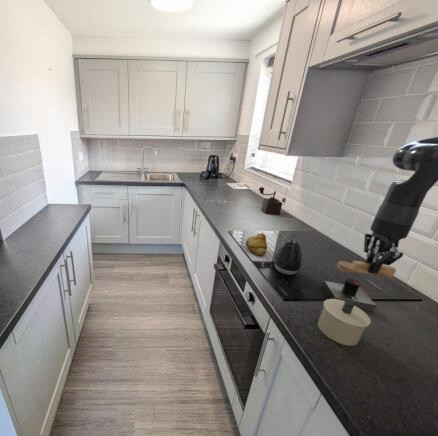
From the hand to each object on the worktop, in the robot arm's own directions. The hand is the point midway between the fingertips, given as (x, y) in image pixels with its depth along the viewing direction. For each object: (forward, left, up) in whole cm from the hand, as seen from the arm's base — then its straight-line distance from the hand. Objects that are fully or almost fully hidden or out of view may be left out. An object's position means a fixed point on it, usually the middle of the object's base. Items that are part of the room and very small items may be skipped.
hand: (370, 270), depth 70 cm
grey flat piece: (-3, -10, -18) cm, 21 cm away
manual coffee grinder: (+9, -107, -19) cm, 109 cm away
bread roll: (+25, -38, -19) cm, 49 cm away
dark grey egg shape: (+15, -22, -19) cm, 33 cm away
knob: (-3, -10, -15) cm, 19 cm away
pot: (+7, +9, -18) cm, 21 cm away
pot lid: (+7, +9, -11) cm, 15 cm away
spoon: (+1, 0, -1) cm, 1 cm away
